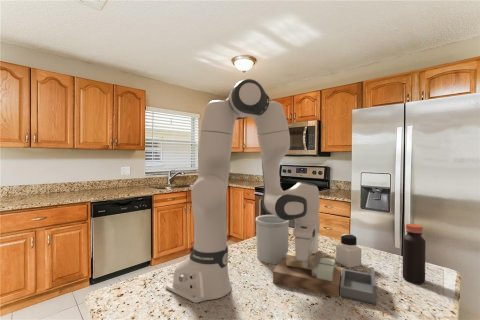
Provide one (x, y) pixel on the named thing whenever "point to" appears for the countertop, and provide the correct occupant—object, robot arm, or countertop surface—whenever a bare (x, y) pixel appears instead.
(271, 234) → the utensil holder
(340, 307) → the countertop surface
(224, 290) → the robot arm
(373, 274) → the box
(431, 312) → the countertop surface
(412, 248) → the vinegar
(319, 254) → the scraper
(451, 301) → the countertop surface
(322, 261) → the tile
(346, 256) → the medicine bottle
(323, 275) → the tile
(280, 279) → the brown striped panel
